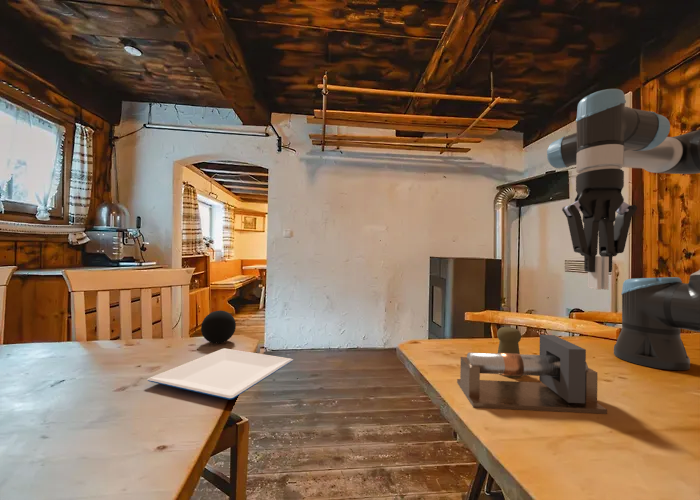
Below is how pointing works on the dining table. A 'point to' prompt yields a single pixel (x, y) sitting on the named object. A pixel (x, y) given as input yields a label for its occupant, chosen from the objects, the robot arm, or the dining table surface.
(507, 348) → the cork
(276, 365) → the plate
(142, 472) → the dining table surface
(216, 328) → the decorative ball
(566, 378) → the collar
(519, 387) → the pipe rig
